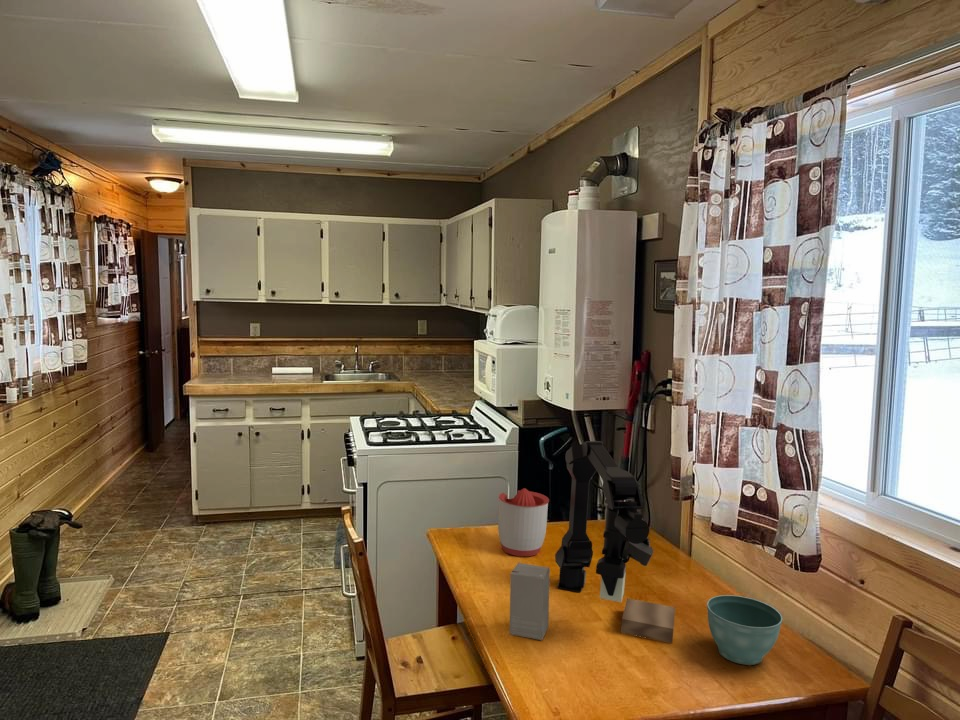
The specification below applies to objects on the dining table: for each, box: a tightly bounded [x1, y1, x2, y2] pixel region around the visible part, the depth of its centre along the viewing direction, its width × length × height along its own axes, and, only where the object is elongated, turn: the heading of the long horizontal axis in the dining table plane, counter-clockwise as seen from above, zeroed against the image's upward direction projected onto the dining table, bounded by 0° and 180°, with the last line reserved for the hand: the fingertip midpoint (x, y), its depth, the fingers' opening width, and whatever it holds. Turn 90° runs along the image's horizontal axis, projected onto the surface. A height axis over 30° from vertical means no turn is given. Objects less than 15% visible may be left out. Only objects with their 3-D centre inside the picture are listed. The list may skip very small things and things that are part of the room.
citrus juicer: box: [497, 487, 550, 558], centre depth 214 cm, size 16×17×20 cm
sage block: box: [599, 571, 626, 603], centre depth 163 cm, size 5×5×6 cm
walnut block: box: [620, 598, 676, 644], centre depth 169 cm, size 12×12×4 cm
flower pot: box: [706, 594, 783, 666], centre depth 158 cm, size 16×16×11 cm
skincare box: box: [509, 562, 550, 641], centre depth 162 cm, size 8×7×16 cm
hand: (612, 590), depth 163 cm, fingers closed on sage block, 5 cm apart
